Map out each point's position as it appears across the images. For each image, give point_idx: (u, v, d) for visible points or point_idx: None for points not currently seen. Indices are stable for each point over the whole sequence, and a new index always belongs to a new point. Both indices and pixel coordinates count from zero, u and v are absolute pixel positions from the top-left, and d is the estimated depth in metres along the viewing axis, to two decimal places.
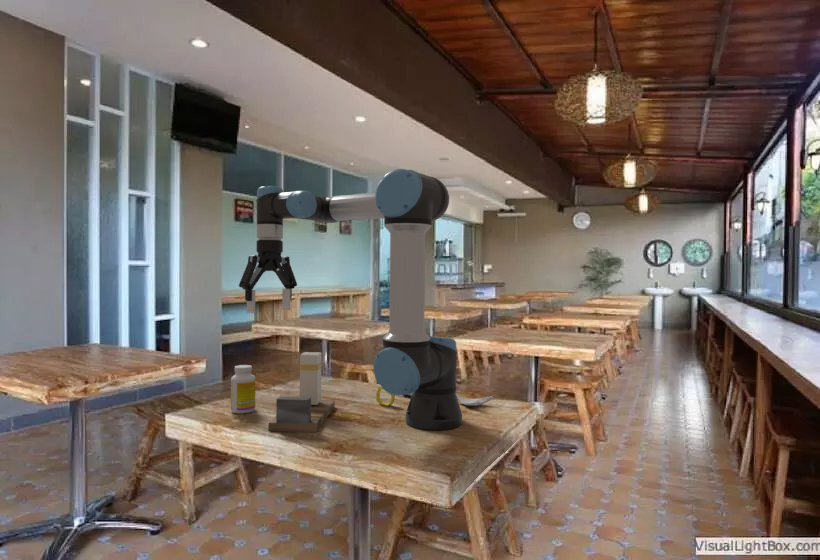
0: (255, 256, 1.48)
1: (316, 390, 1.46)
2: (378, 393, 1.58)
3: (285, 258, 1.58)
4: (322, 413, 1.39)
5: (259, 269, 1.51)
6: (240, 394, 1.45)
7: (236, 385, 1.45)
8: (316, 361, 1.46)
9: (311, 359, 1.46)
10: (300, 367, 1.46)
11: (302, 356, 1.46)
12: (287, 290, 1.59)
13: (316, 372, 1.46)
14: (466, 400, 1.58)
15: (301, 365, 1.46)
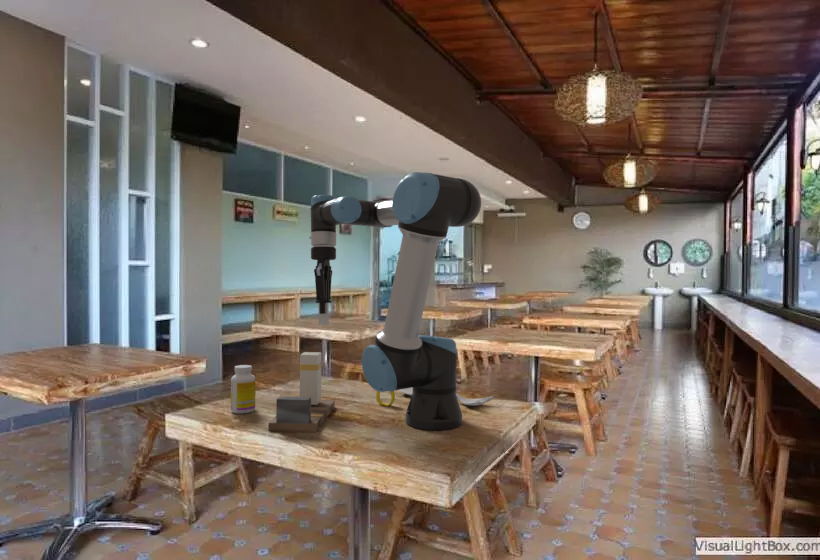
0: (322, 270, 1.52)
1: (316, 390, 1.46)
2: (378, 393, 1.58)
3: None
4: (322, 413, 1.39)
5: None
6: (240, 394, 1.45)
7: (236, 385, 1.45)
8: (316, 361, 1.46)
9: (311, 359, 1.46)
10: (300, 367, 1.46)
11: (302, 356, 1.46)
12: None
13: (316, 372, 1.46)
14: (467, 400, 1.58)
15: (301, 365, 1.46)
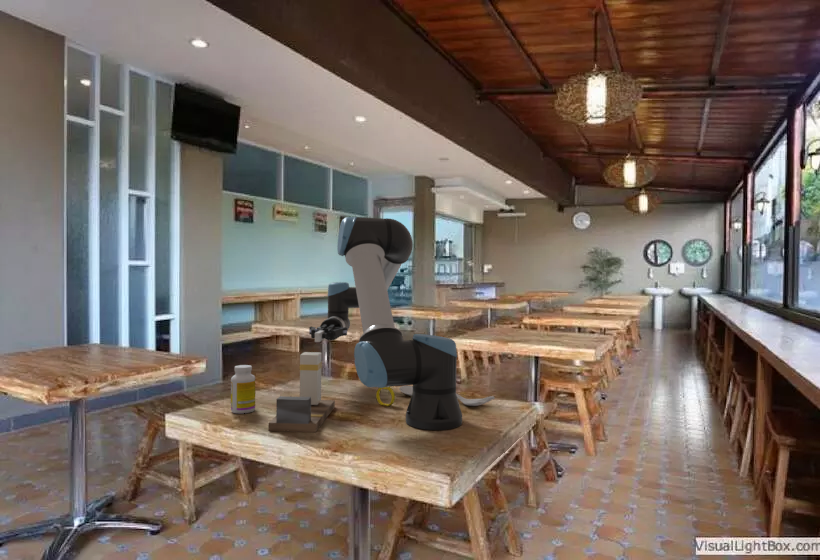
0: None
1: (316, 390, 1.46)
2: (378, 393, 1.58)
3: None
4: (322, 413, 1.39)
5: None
6: (240, 394, 1.45)
7: (236, 385, 1.45)
8: (316, 361, 1.46)
9: (311, 359, 1.46)
10: (300, 367, 1.46)
11: (302, 356, 1.46)
12: None
13: (316, 372, 1.46)
14: (467, 400, 1.58)
15: (301, 365, 1.46)
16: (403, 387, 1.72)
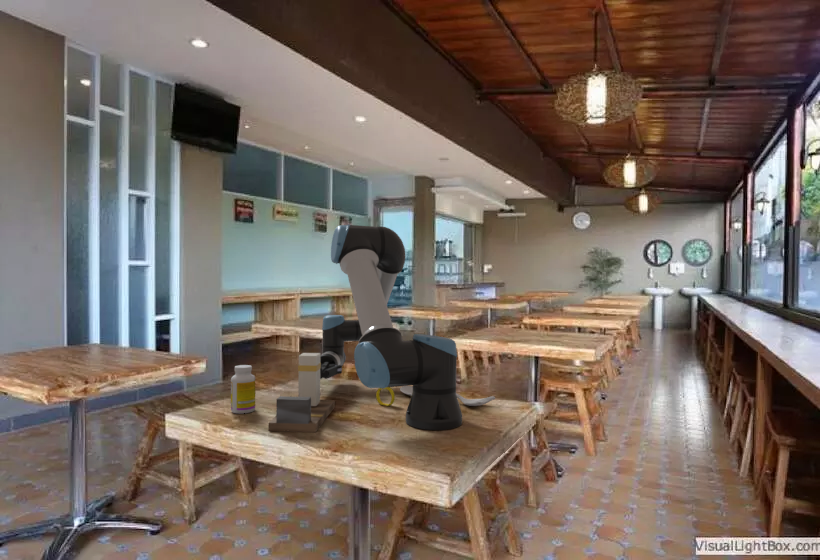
0: None
1: (315, 391, 1.45)
2: (378, 393, 1.58)
3: None
4: (322, 413, 1.39)
5: None
6: (240, 394, 1.45)
7: (236, 385, 1.45)
8: (315, 362, 1.45)
9: (309, 360, 1.45)
10: (299, 368, 1.45)
11: (301, 357, 1.45)
12: None
13: (315, 373, 1.45)
14: (468, 400, 1.58)
15: (300, 366, 1.45)
16: (404, 387, 1.71)
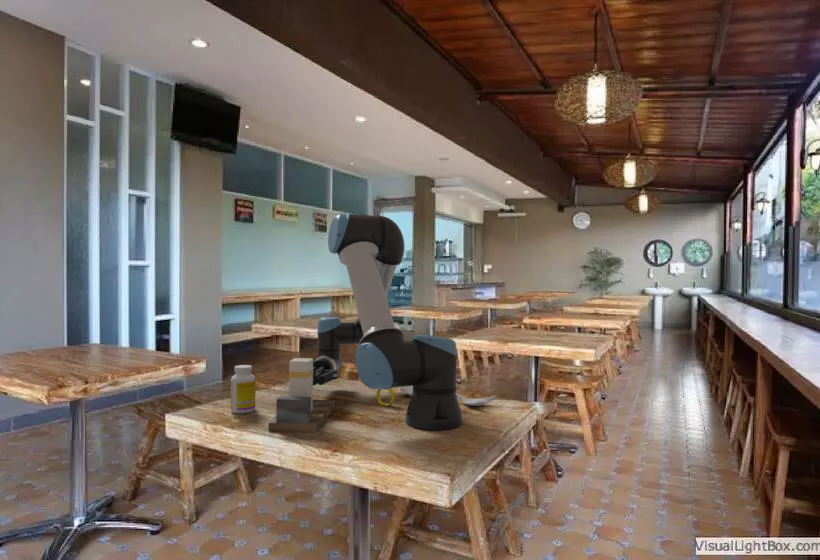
0: None
1: None
2: (378, 393, 1.58)
3: None
4: (322, 413, 1.39)
5: None
6: (240, 394, 1.45)
7: (236, 385, 1.45)
8: (306, 368, 1.36)
9: (301, 366, 1.36)
10: (289, 374, 1.36)
11: (292, 363, 1.36)
12: None
13: (307, 380, 1.36)
14: (469, 400, 1.58)
15: (291, 372, 1.36)
16: (404, 387, 1.71)
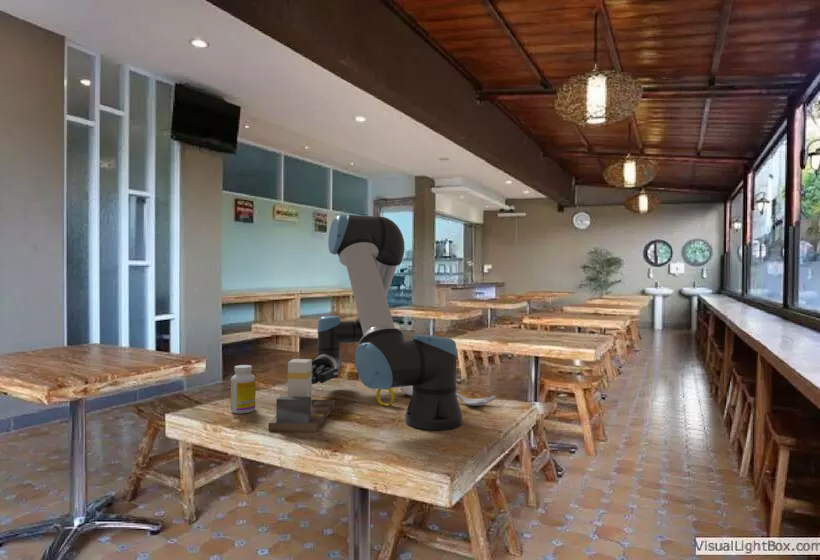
0: None
1: None
2: (378, 393, 1.58)
3: None
4: (322, 413, 1.39)
5: None
6: (240, 394, 1.45)
7: (236, 385, 1.45)
8: (305, 369, 1.34)
9: (300, 367, 1.34)
10: (288, 375, 1.34)
11: (290, 363, 1.34)
12: None
13: (305, 381, 1.34)
14: (469, 400, 1.58)
15: (289, 373, 1.34)
16: (404, 387, 1.71)
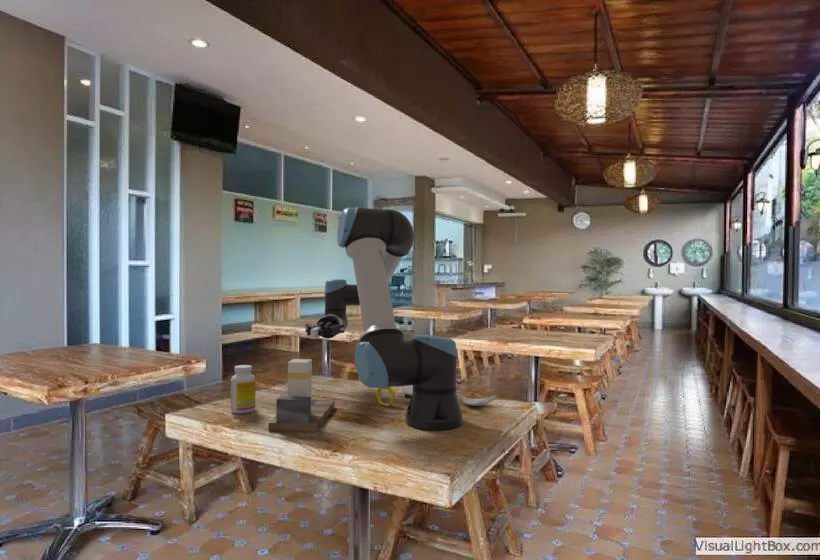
0: (306, 324, 1.67)
1: None
2: (378, 393, 1.58)
3: None
4: (322, 413, 1.39)
5: None
6: (240, 394, 1.45)
7: (236, 385, 1.45)
8: (305, 369, 1.34)
9: (300, 367, 1.34)
10: (288, 375, 1.34)
11: (290, 363, 1.34)
12: None
13: (305, 381, 1.34)
14: (469, 400, 1.58)
15: (289, 373, 1.34)
16: (404, 387, 1.71)
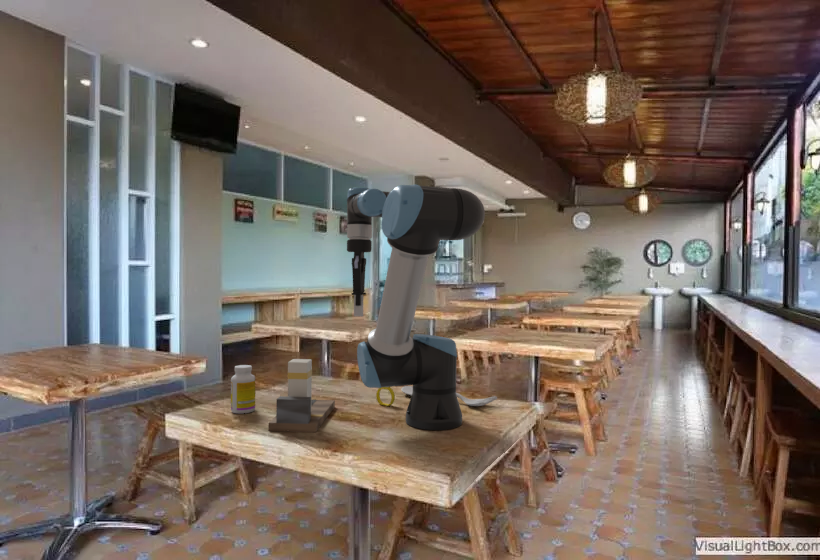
0: (360, 263, 1.53)
1: None
2: (378, 393, 1.58)
3: None
4: (322, 413, 1.39)
5: None
6: (240, 394, 1.45)
7: (236, 385, 1.45)
8: (305, 369, 1.34)
9: (300, 367, 1.34)
10: (288, 375, 1.34)
11: (290, 363, 1.34)
12: None
13: (305, 381, 1.34)
14: (470, 400, 1.58)
15: (289, 373, 1.34)
16: (405, 387, 1.71)
